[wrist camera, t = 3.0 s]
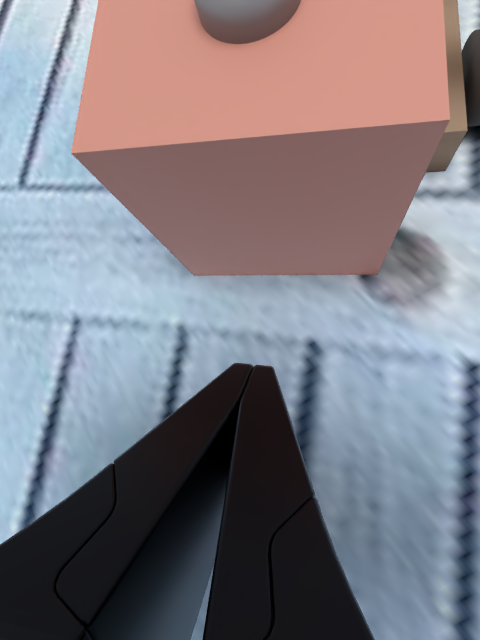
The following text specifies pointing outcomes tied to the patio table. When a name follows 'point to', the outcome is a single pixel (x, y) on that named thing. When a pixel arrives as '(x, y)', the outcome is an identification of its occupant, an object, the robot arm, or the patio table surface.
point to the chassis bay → (458, 87)
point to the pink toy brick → (266, 126)
